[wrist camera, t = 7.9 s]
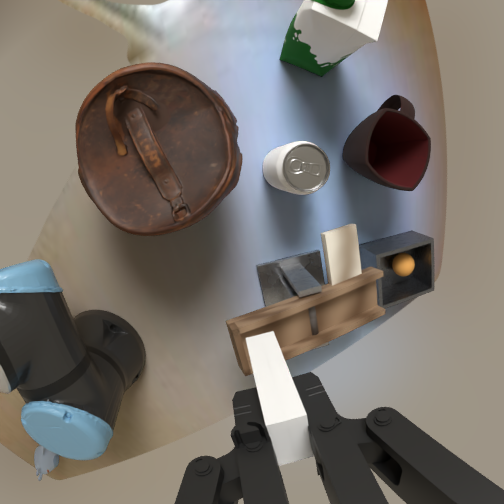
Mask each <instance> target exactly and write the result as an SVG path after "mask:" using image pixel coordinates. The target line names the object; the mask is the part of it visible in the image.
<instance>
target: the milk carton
mask: <svg viewBox="0 0 504 504" xmlns="http://www.w3.org/2000/svg"><path fill="white" fill-rule="evenodd" d="M387 2H388V0H304V2H303V3H302V5H301V6H300V8H299V10H298V11H297V13H296V15H295V16H294V18H293V20H292V21H291V24H290V26H289V29H288V31H287V34H286V37H285V40H284V44H283V48H282V52H281V56H280V60H282V61H285V62H287V63H290V64H292V65H295V66H297V67H300V68H302V69H305V70H307V71H310V72H312V73H314V74H317V75H319V76H321V77H322V76H324V75H325V74H326V73H327V72H329V71H330V70H331V69H332V68H334V67H335V66H336V65H338V64H339V63H340V62H341V61H343V60H344V59H346V58H347V57H348V56H350V55H351V54H352V53H354V52H355V51H357V50H358V49H359V48H361V47H362V46H364V45H365V44H367V43H371V42H376V41H377V40H378V37H379V33H380V29H381V25H382V21H383V18H384V14H385V10H386V6H387Z"/></svg>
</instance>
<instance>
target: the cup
mask: <svg viewBox="0 0 504 504" xmlns="http://www.w3.org/2000/svg"><path fill="white" fill-rule="evenodd" d="M399 108H401V109H400V111H398V109H399ZM414 118H415V110H414V107H413V105H412V103H411V102H409V101H408V100H407V99H406V98H404V97H402V96H399V95H393V96H391V97H390V98H389V99H387V100H386V101H385V102H384V103H383V104H382V105H381V107H380V108H379V109H378V111H377V112H375V113H373V114H371V115H370V116H369V117H367V118H366V119H365V120H364V121H362V122H361V123H360V124H359V125H358V126H357V127H356V128H355V129H354V130H353V131H352V133H351V134H350V135H349V137H348V138H347V140H346V142H345V145H344V149H343V160H344V161H345V162H346V164H347V165H348V166H349V167H351V168H352V169H353V170H354V171H356V172H357V173H359V174H360V175H362V176H364V177H366V178H368V179H370V180H372V181H374V182H376V183H378V184H381V185H383V186H386V187H390V188H393V189H398V190H404V191H413V190H414V189H415V188H416V187H417V186H418V184H419V183H420V181H421V180H422V178H423V176H424V174H425V172H426V169H427V167H428V163H429V158H430V151H431V140H430V137H429V136H428V134H427V133H426V131H425V130H424V129H423V127H422V126H421V125H420V124H419V123H418V122H417V121H415V120H414Z"/></svg>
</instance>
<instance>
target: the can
mask: <svg viewBox="0 0 504 504" xmlns="http://www.w3.org/2000/svg"><path fill="white" fill-rule="evenodd" d="M263 174H264V177H265V179H266V180H267V182H268V183H269V184H270V185H272V186H273V187H275V188H277V189H280V190H283V191H287V192H290V193H294V194H299V195H307V194H311V193H314V192H316V191H317V190H319V189H320V188H321V187H322V186H323V185H324V184H325V183H326V181H327V180H328V177H329V174H330V163H329V159H328V157H327V155H326V154H325V152H324V151H323V150H322V149H321V148H319V147H318V146H316V145H315V144H313V143H310V142H307V141H297V142H292V143H289V144H286V145H283V146H280V147H277V148H275V149H273V150H272V151H270V152H269V153H268V154H267V155H266V157H265V159H264V161H263Z"/></svg>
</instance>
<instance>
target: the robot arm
mask: <svg viewBox="0 0 504 504" xmlns="http://www.w3.org/2000/svg"><path fill="white" fill-rule="evenodd" d="M62 292H63V290H62V288H61V287H59V284H58V282H57V280H56V277H55V275H54V273H53V270H52V268H51V266H50V265H49V264H48V263H47V262H46V261H44V260H40V259H37V260H31V261H27V262H24V263H20V264H16V265H13V266H9V267H6V268H3V269H0V392H3V393H7V394H8V393H10V392H11V391H13V390H14V389H15V388H17V390H18V391H19V393H20V395H21V396H22V398H23V399H24V401H25V403H26V404H25V405H24V406H23V408H22V413H21V416H22V418H21V421H22V425H23V427H24V428H25V430H26V432H27V433H28V434H29V435H30V436H31V437H32V438H33V439H34V440H35V441H36V442H37V443H38V444H40V445H41V446H43V447H44V448H46V449H47V450H49V451H51V452H53V453H55V454H58V455H60V456H63V457H66V458H69V459H74V460H91V459H95V458H98V457H99V456H101V455H102V454H103V453H104V452H105V450H106V448H107V446H108V443H109V440H110V439H111V438H112V436H113V430H114V426H115V422H116V419H117V415H118V412H119V408H120V405H121V401H122V398H123V395H124V392H125V391H126V390H127V389H128V388H129V387H130V386H131V385H132V384H133V383H134V382H135V381H136V380H137V379H138V378H139V376H140V374H141V372H142V370H143V366H144V363H145V348H144V345H143V342H142V340H141V338H140V336H139V335H138V333H137V332H136V330H135V329H134V328H133V327H132V326H131V325H130V324H129V323H128V322H127V321H125V320H124V319H122V318H121V317H119V316H117V315H115V314H113V313H110V312H107V311H102V310H89V311H85V312H82V313H80V314H79V315H77V316H76V317H75V318H74V319H73V317H72V315H71V313H70V310H69V308H68V306H67V303H66V301H65V298H64V296H63V293H62ZM246 342H247V347H248V351H249V356H250V360H251V365H252V369H253V373H254V378H255V382H256V388H252V389H248V390H243V391H239V392H236V393H235V395H234V398H233V400H232V401H233V409H234V417H235V425H236V426H235V427H234V428H233V429H232V431H231V437H232V440H233V442H234V445H235V447H234V449H233V450H232V451H231V452H230V453H228V454H226V455H225V456H222V457H220V458H218V459H216V458H214V457H211V456H200V457H198V458H195V459H194V460H192V461H191V462H190V463H189V465H188V466H187V468H186V471H185V474H184V477H183V480H182V483H181V486H180V489H179V492H178V495H177V498H176V501H175V504H238V500H239V499H241V498H243V500H244V504H289V501H288V498H287V494H286V490H285V487H284V483H283V479H282V475H281V472H280V470H279V466H280V465H284V464H288V463H291V462H295V461H299V460H302V459H306V458H309V457H313V454H314V456H315V459H316V465H317V472H318V475H320V477H321V479H322V482H323V485H324V487H325V490H326V493H327V496H328V498H329V501H330V503H331V504H388V502H387V500H386V498H385V496H384V494H383V492H382V490H381V488H380V487H379V485H378V483H377V481H376V479H375V477H374V475H373V473H372V471H371V469H372V470H373V471H374V472H375V473H376V474H377V475H378V476H379V477H380V478H381V479H382V480H383V481H384V482H385V483H386V484H387V485H388V486H389V487H390V488H391V489H392V490H393V491H394V492H395V493H396V494H397V495H398V496H399V497H400V498H401V499H403V501H405V502H406V503H407V504H504V490H503V489H502V488H500V487H499V486H497V485H496V484H494V483H493V482H492V481H490V480H489V479H487V478H486V477H485V476H483V475H482V474H481V473H479V472H478V471H476V470H475V469H474V468H472V467H470V466H469V465H468V464H467V463H465V462H464V461H463V460H461V459H460V458H458V457H457V456H456V455H454V454H453V453H452V452H450V451H449V450H448V449H446V448H445V447H444V446H442V445H441V444H439V443H438V442H437V441H436V440H434V439H433V438H432V437H430V436H429V435H428V434H426V433H425V432H424V431H422V430H421V429H420V428H418V427H417V426H416V425H415V424H413V423H412V422H411V421H409V420H408V419H407V418H405V417H404V416H403V415H402V414H400V413H399V412H398V411H396V410H395V409H393V408H389V407H380V408H377V409H374V410H372V411H371V412H370V413H369V414H368V416H367V418H362V419H346V418H344V417H341V416H340V415H339V414H337V412H336V410H335V408H334V406H333V405H332V403H331V401H330V399H329V397H328V395H327V393H326V391H325V389H324V387H323V386H322V383H321V381H320V380H319V378H318V377H317V376H316V375H314V374H313V373H311V372H309V373H306V374H302V375H299V376H295V377H291V374H290V372H289V369H288V367H287V364H286V362H285V359H284V357H283V354H282V352H281V349H280V347H279V344H278V341H277V339H276V336H275V334H274V331H271V332H267V333H264V334H260V335H256V336H252V337H247V338H246ZM370 468H371V469H370Z"/></svg>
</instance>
